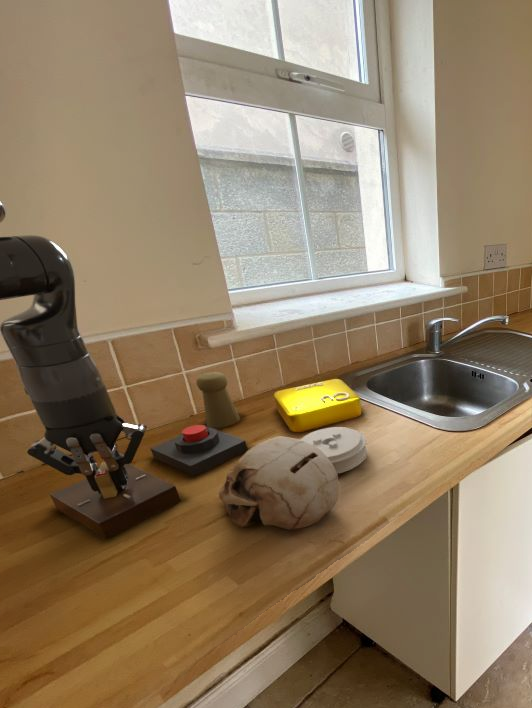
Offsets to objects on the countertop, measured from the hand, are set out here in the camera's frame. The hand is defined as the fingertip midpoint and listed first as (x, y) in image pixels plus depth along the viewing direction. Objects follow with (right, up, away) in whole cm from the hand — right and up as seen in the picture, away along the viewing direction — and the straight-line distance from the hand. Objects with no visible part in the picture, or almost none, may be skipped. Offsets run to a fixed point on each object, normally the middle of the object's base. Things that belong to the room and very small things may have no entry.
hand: (112, 488), depth 70 cm
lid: (+28, +2, +15) cm, 32 cm away
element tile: (+17, +11, +33) cm, 38 cm away
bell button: (+3, +7, +14) cm, 15 cm away
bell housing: (+3, +4, +15) cm, 16 cm away
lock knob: (0, 0, 0) cm, 0 cm away
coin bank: (+25, -4, +2) cm, 26 cm away
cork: (-1, +9, +27) cm, 28 cm away
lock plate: (0, -3, +1) cm, 3 cm away
